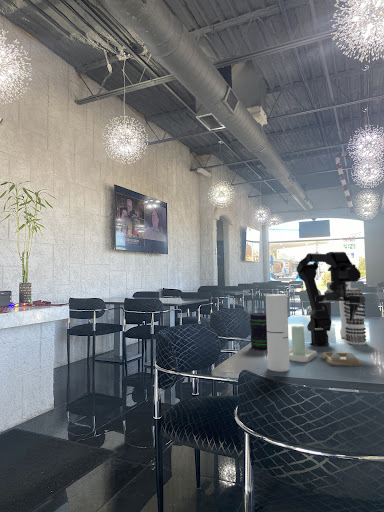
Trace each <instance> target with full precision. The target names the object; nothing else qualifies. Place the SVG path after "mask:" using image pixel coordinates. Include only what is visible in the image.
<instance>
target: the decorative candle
mask: <svg viewBox="0 0 384 512" xmlns="http://www.w3.org/2000/svg"><path fill="white" fill-rule="evenodd" d="M363 293H364V291H363V290H362V289H361V288H351V289H347V290H346V294H348V297H350V296H353V295H363V296H364V294H363ZM343 304H344V305H345V307H344V309H346V310H345V311H344V312H345V313H346V314H345V317H346V328H345V329H347V330H346V333H347V334H346V337H347V338H346V339H345V341H346V342H345V343H346V344H349V345H359V346H361V345H366V344H367V342H366V341H367V335H366V333H367V331H366V329H367V328H366V324H365V318H366V314H365V313H366V311H365V310H364V309H366V307H365V305H366V302H364V303H362V305H359V307H358V309H357V310H356V313H355V315H354V318H353V320H352V321H350V306H349V304H351V302H350V301H344V303H343Z"/></svg>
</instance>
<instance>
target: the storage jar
mask: <svg viewBox="0 0 384 512" xmlns="http://www.w3.org/2000/svg"><path fill="white" fill-rule="evenodd" d="M249 316H250V317H249V323H250V324H249V326H250V345H251V346H250V349H251V350H254V351H264V352H266V351H267V321H266V312H253V313H250V314H249Z"/></svg>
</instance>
